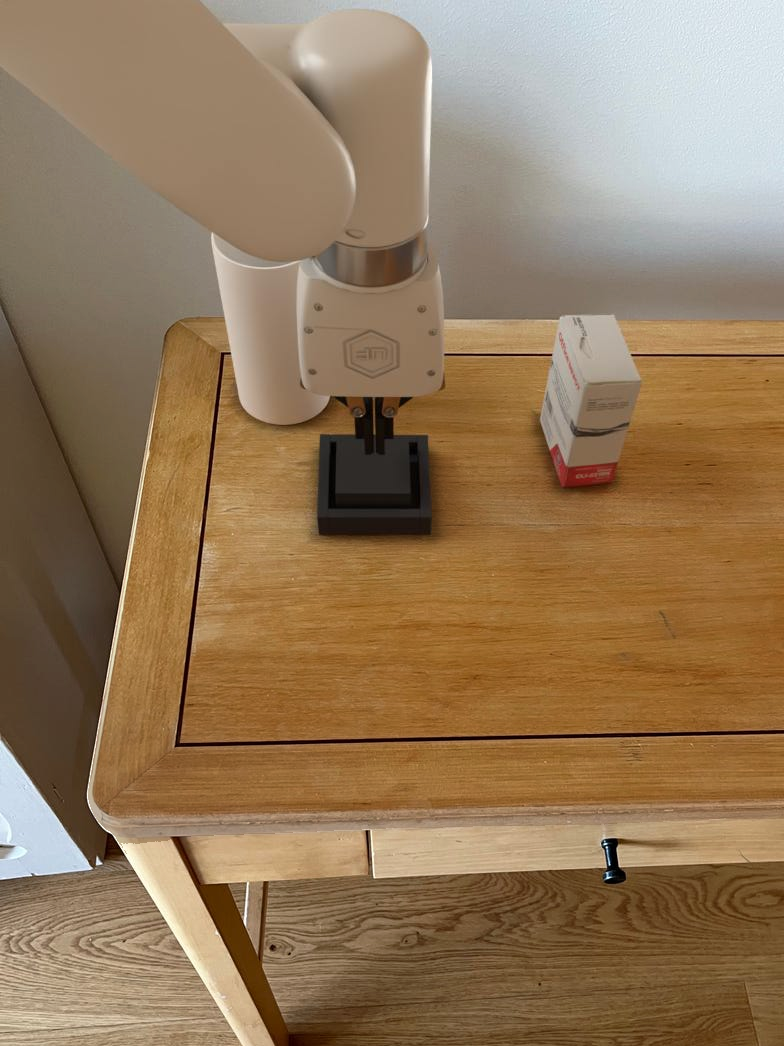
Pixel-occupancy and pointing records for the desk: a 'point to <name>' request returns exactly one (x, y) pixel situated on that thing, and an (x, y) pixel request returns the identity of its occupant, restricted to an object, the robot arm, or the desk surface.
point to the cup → (264, 335)
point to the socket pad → (375, 519)
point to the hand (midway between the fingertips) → (374, 441)
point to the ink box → (588, 398)
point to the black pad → (372, 475)
